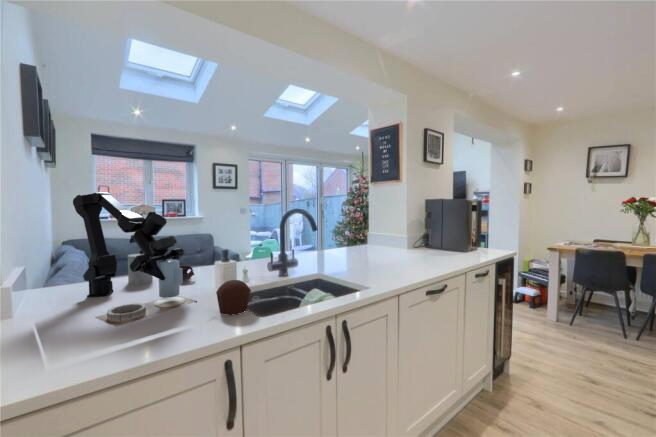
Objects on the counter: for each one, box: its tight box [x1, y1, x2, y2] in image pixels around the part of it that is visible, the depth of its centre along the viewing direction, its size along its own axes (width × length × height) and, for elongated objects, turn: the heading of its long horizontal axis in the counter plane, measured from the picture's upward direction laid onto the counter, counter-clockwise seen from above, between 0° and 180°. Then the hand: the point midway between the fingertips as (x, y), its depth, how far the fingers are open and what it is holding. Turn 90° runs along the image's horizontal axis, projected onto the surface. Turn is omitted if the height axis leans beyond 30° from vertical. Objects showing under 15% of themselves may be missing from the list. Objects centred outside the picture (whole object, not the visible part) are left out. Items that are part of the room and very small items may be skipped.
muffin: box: [215, 279, 252, 316], centre depth 102 cm, size 12×11×10 cm
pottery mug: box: [179, 264, 195, 282], centre depth 139 cm, size 12×10×8 cm
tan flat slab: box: [94, 295, 198, 327], centre depth 100 cm, size 26×13×3 cm, turn 150°
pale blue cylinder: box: [158, 259, 184, 299], centre depth 106 cm, size 9×6×12 cm
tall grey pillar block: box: [127, 252, 154, 285], centre depth 137 cm, size 10×10×12 cm
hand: (172, 277), depth 106 cm, fingers closed on pale blue cylinder, 6 cm apart
